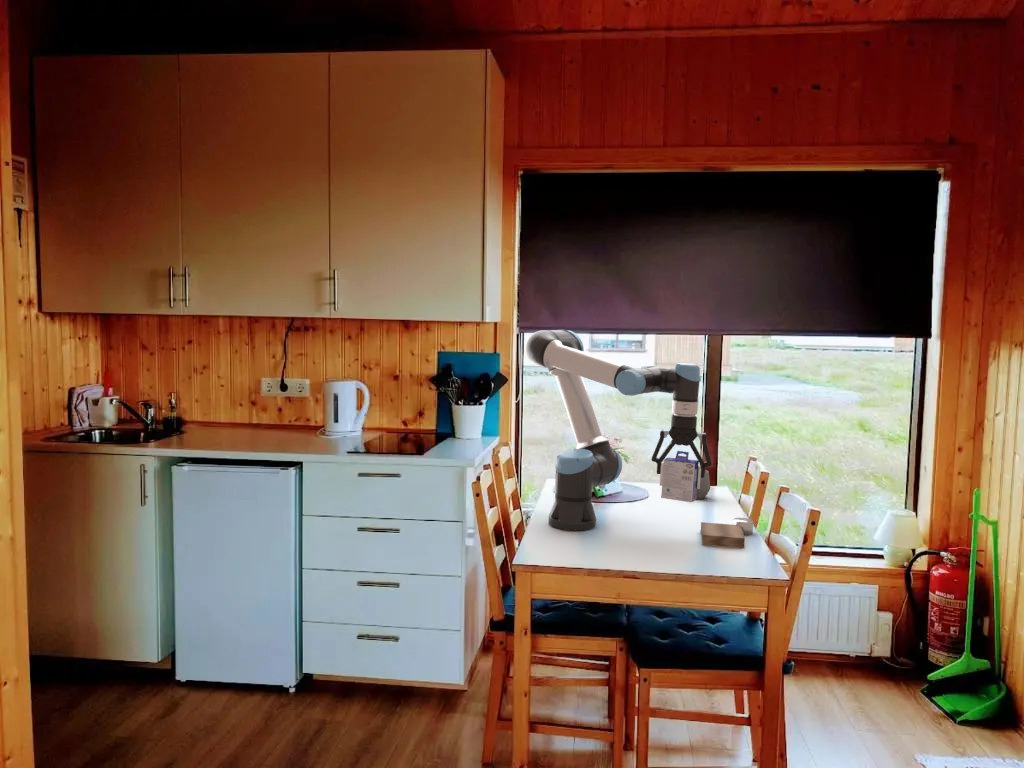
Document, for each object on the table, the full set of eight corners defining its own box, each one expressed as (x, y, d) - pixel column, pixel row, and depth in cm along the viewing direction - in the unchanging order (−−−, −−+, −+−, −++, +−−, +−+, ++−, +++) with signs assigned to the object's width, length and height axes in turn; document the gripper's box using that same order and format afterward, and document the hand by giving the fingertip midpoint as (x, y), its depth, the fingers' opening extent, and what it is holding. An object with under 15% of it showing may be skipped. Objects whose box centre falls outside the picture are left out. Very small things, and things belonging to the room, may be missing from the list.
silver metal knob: (733, 534, 250) (734, 522, 249) (732, 529, 255) (732, 516, 255) (753, 536, 248) (754, 523, 248) (751, 530, 254) (752, 518, 254)
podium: (702, 544, 238) (702, 534, 238) (700, 531, 252) (701, 522, 251) (744, 548, 236) (744, 538, 235) (740, 534, 249) (740, 525, 249)
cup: (678, 494, 298) (680, 468, 297) (700, 493, 301) (702, 467, 300) (691, 501, 290) (693, 474, 288) (714, 499, 292) (716, 473, 291)
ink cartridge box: (697, 499, 245) (700, 452, 244) (693, 503, 240) (696, 455, 239) (665, 494, 250) (668, 448, 248) (660, 498, 245) (663, 451, 243)
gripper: (645, 413, 240) (640, 485, 243) (724, 419, 236) (719, 492, 239) (646, 410, 248) (641, 480, 250) (722, 415, 243) (717, 486, 246)
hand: (679, 486), depth 245 cm, fingers closed on ink cartridge box, 10 cm apart
